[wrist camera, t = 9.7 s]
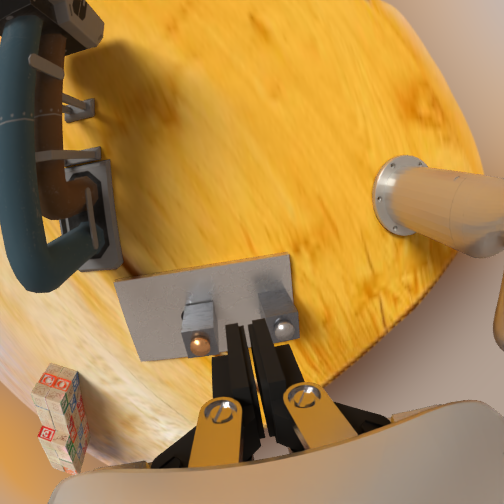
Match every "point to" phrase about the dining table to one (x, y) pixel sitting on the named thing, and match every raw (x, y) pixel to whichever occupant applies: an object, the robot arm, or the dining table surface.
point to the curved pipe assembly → (50, 148)
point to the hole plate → (197, 300)
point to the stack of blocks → (61, 418)
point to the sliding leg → (200, 330)
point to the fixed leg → (279, 315)
